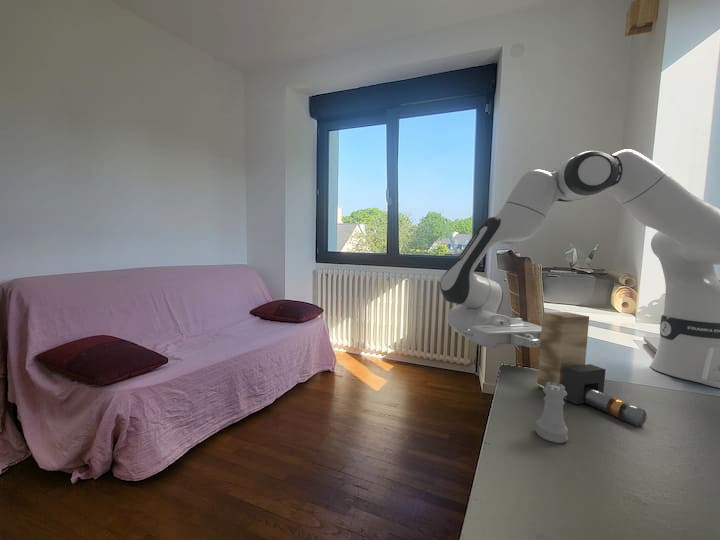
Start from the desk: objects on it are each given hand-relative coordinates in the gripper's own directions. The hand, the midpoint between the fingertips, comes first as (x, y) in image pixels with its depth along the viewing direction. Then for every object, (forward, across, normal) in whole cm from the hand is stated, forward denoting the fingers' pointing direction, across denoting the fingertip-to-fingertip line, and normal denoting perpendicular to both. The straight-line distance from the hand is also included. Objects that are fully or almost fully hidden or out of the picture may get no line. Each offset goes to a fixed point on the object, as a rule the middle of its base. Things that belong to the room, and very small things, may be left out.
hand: (535, 343), depth 76 cm
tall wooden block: (+7, 0, +8) cm, 11 cm away
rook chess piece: (+20, -18, +8) cm, 28 cm away
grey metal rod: (+14, 0, +8) cm, 16 cm away
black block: (+12, 0, +8) cm, 14 cm away
